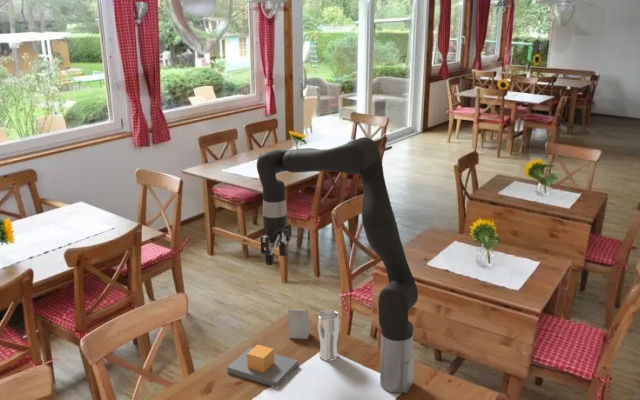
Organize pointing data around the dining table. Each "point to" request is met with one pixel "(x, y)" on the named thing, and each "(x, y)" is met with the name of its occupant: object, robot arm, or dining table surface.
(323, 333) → the beer glass
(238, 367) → the board
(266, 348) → the matte orange cube
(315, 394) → the dining table surface
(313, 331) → the dining table surface
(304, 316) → the grey cardboard box
